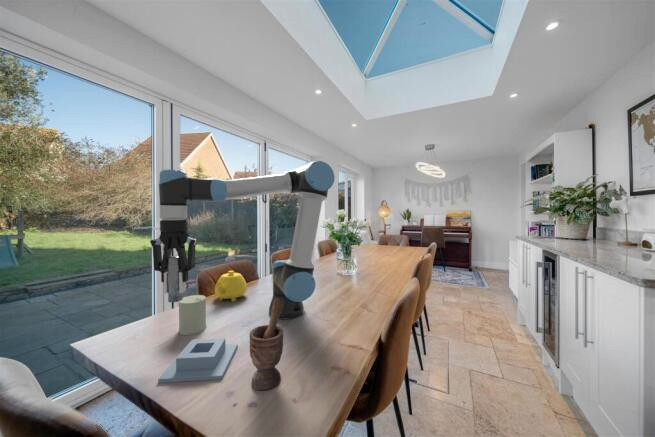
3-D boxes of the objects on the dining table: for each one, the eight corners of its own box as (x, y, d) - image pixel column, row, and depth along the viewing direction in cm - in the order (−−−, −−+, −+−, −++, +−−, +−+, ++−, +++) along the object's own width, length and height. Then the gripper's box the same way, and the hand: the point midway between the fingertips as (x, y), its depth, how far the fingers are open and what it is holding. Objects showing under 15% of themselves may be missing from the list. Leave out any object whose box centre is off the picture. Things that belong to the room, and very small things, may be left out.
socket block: (237, 346, 83) (237, 333, 82) (222, 379, 67) (221, 362, 66) (186, 349, 81) (186, 335, 81) (158, 382, 65) (157, 365, 65)
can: (194, 336, 89) (194, 303, 89) (172, 333, 91) (172, 301, 91) (211, 324, 98) (211, 294, 98) (191, 322, 100) (190, 292, 100)
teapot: (232, 307, 116) (232, 278, 115) (202, 305, 118) (201, 276, 118) (252, 293, 135) (252, 268, 135) (226, 291, 138) (225, 267, 138)
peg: (184, 297, 83) (184, 255, 83) (178, 302, 79) (178, 258, 79) (172, 298, 83) (171, 255, 82) (165, 302, 79) (164, 258, 78)
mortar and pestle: (257, 363, 73) (257, 296, 73) (287, 363, 74) (287, 296, 73) (245, 392, 62) (244, 312, 61) (280, 392, 62) (280, 312, 61)
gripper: (206, 218, 85) (207, 287, 85) (153, 218, 83) (154, 288, 84) (196, 219, 77) (197, 295, 78) (138, 219, 76) (139, 296, 76)
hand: (175, 291), depth 81 cm, fingers closed on peg, 4 cm apart
